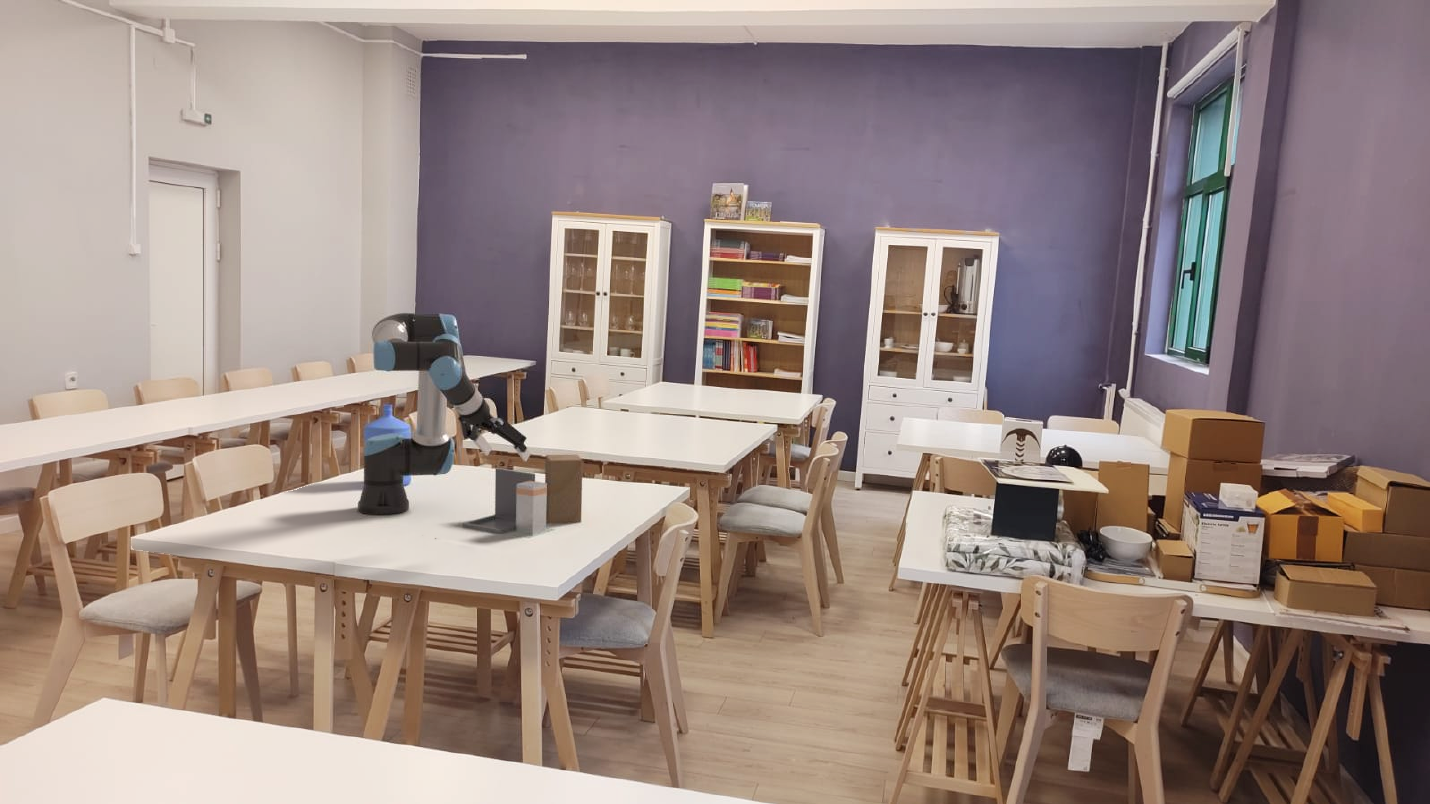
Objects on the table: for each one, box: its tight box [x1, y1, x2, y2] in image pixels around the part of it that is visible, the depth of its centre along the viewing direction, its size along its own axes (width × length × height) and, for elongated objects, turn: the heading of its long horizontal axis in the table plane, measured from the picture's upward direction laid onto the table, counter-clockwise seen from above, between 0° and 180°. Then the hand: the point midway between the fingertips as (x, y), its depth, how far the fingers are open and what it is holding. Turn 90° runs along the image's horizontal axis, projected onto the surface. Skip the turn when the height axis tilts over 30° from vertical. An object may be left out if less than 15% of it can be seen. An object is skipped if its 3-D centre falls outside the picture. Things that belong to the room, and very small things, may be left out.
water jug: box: [363, 403, 412, 487], centre depth 346 cm, size 16×16×28 cm
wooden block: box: [544, 454, 583, 524], centre depth 300 cm, size 10×10×20 cm
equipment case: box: [462, 467, 536, 535], centre depth 289 cm, size 14×15×16 cm
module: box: [515, 480, 547, 535], centre depth 283 cm, size 6×6×14 cm
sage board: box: [506, 527, 556, 539], centre depth 284 cm, size 8×12×1 cm, turn 152°
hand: (507, 454), depth 272 cm, fingers open, 13 cm apart
